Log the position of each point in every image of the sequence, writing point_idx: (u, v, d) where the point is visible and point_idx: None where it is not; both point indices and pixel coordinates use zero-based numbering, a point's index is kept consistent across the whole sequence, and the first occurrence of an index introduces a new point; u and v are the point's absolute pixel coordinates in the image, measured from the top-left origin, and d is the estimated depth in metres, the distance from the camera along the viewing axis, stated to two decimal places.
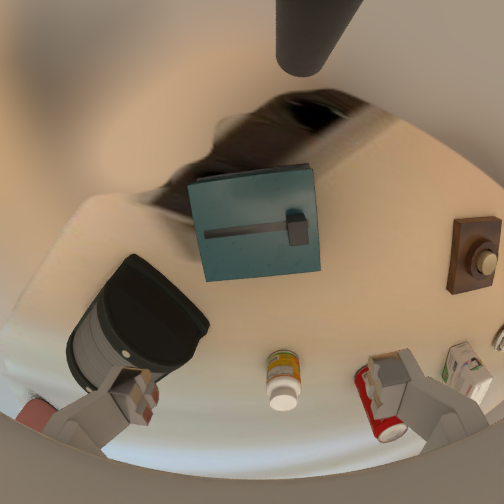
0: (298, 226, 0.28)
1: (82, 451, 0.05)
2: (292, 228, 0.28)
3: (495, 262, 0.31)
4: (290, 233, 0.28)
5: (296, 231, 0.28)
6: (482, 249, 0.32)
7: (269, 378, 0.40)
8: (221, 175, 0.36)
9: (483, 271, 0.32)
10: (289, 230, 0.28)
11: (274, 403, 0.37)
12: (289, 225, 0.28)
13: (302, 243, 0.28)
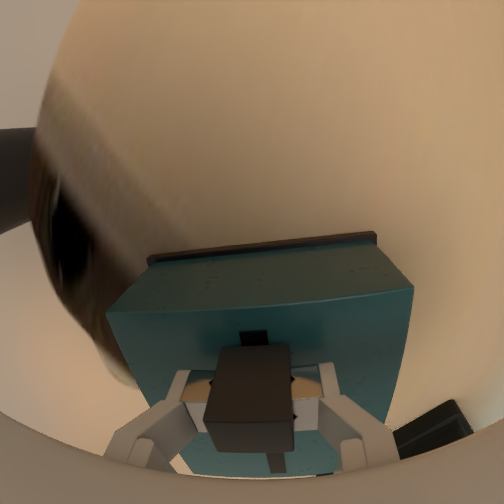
0: (225, 437, 0.07)
1: (82, 451, 0.05)
2: (233, 447, 0.07)
3: None
4: (250, 450, 0.07)
5: (242, 442, 0.07)
6: None
7: None
8: None
9: None
10: (240, 452, 0.07)
11: None
12: (224, 450, 0.07)
13: (286, 432, 0.07)
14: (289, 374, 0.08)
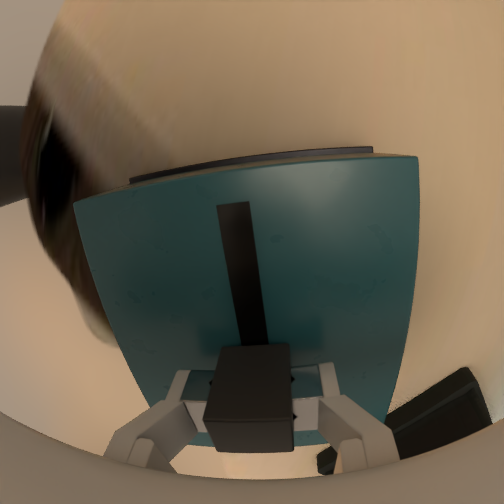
0: (224, 437, 0.07)
1: (82, 451, 0.05)
2: (233, 447, 0.07)
3: None
4: (250, 450, 0.07)
5: (242, 441, 0.07)
6: None
7: None
8: None
9: None
10: (240, 451, 0.07)
11: None
12: (224, 450, 0.07)
13: (286, 432, 0.07)
14: (289, 374, 0.08)
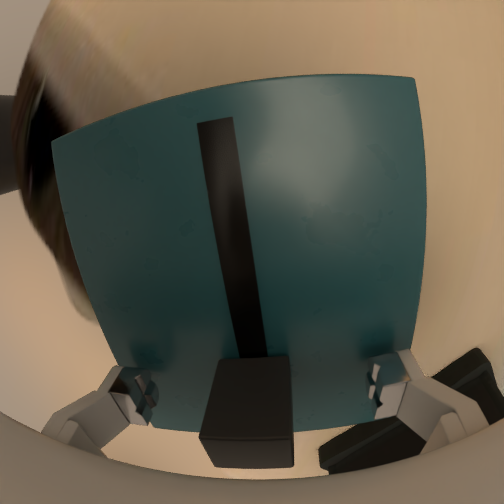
0: (222, 454, 0.07)
1: (82, 451, 0.05)
2: (231, 463, 0.07)
3: None
4: (248, 466, 0.07)
5: (240, 458, 0.07)
6: None
7: None
8: None
9: None
10: (238, 467, 0.07)
11: None
12: (222, 466, 0.07)
13: (285, 450, 0.06)
14: (289, 389, 0.08)
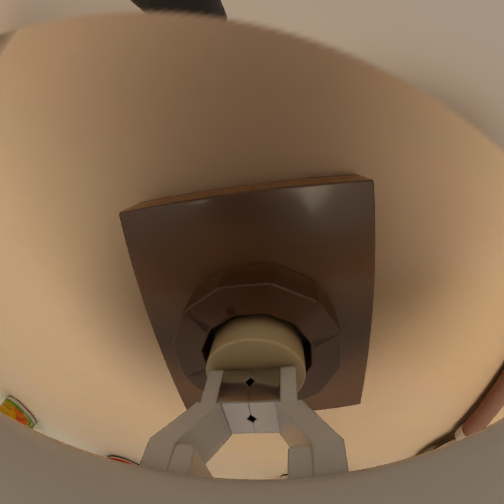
0: None
1: (82, 451, 0.05)
2: None
3: None
4: None
5: None
6: (216, 316, 0.10)
7: None
8: None
9: None
10: None
11: None
12: None
13: None
14: None
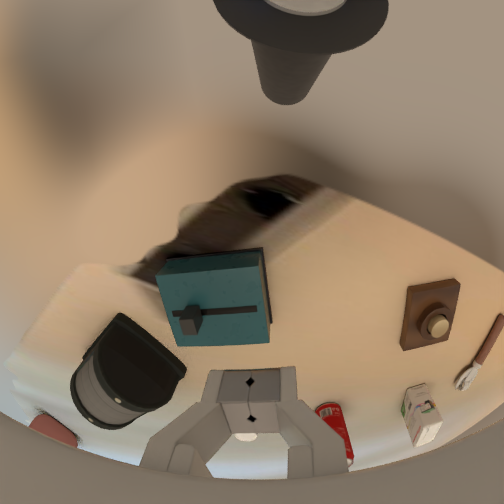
0: (187, 322, 0.35)
1: (82, 451, 0.05)
2: (182, 323, 0.35)
3: (447, 326, 0.37)
4: (182, 327, 0.35)
5: (186, 326, 0.35)
6: (433, 315, 0.38)
7: None
8: (186, 257, 0.41)
9: (432, 335, 0.38)
10: (180, 325, 0.35)
11: (238, 435, 0.43)
12: (180, 321, 0.35)
13: (192, 334, 0.35)
14: None
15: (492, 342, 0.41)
